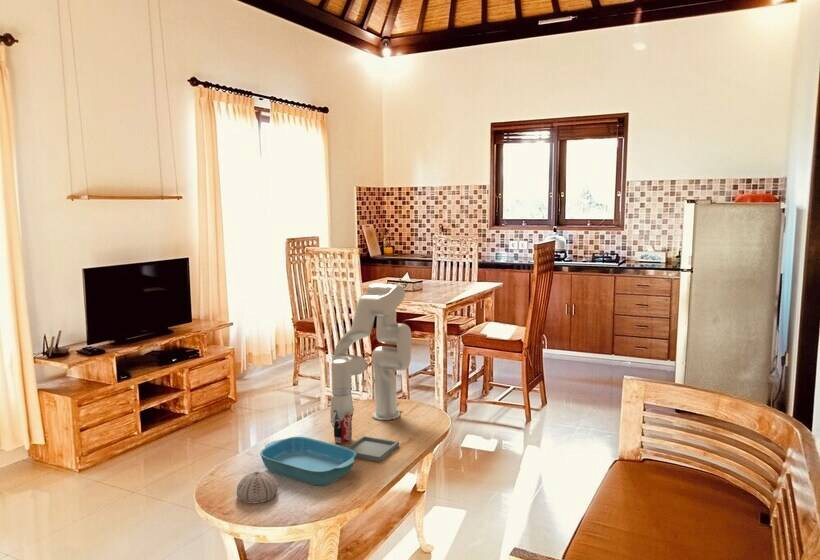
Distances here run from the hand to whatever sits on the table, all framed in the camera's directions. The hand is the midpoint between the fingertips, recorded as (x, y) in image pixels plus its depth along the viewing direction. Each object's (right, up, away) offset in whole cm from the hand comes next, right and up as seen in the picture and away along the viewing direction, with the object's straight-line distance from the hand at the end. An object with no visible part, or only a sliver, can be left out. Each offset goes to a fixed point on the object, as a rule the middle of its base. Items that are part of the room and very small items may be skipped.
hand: (343, 433), depth 238 cm
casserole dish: (-9, -7, -26) cm, 28 cm away
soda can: (0, -3, 0) cm, 3 cm away
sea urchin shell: (-23, -9, -45) cm, 51 cm away
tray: (+12, -4, -10) cm, 16 cm away
